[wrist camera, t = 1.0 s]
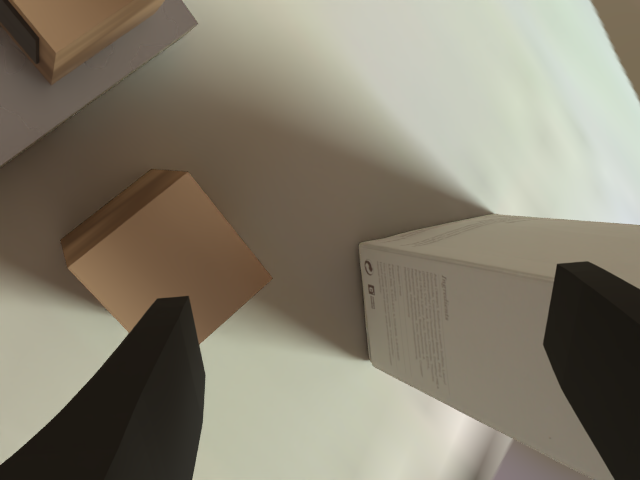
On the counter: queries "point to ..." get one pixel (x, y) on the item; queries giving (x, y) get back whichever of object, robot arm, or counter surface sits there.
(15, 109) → the rail
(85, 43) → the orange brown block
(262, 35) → the counter surface
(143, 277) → the walnut block
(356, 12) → the counter surface
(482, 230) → the skincare box
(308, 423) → the counter surface
